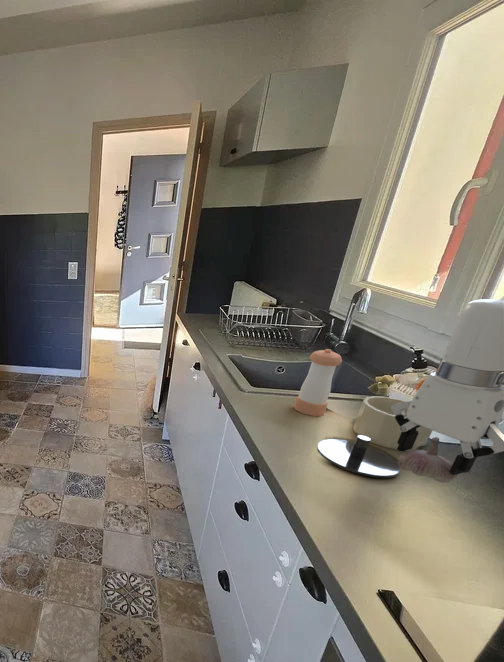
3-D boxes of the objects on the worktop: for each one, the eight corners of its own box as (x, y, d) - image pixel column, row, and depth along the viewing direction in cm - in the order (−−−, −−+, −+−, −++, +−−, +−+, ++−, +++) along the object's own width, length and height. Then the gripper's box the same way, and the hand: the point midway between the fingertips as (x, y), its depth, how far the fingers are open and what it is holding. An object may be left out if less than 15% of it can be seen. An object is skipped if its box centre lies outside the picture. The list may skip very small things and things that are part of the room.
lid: (414, 472, 86) (426, 449, 84) (367, 485, 82) (378, 461, 80) (344, 439, 99) (352, 418, 97) (301, 448, 96) (308, 427, 93)
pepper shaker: (328, 411, 113) (349, 350, 106) (318, 418, 109) (340, 355, 102) (299, 402, 119) (318, 343, 111) (289, 409, 115) (308, 348, 107)
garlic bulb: (385, 465, 76) (400, 430, 73) (415, 460, 77) (430, 425, 74) (431, 490, 69) (449, 452, 66) (463, 483, 70) (482, 446, 67)
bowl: (437, 446, 96) (452, 416, 93) (400, 455, 92) (414, 424, 89) (376, 420, 108) (387, 393, 105) (340, 427, 104) (350, 400, 101)
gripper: (563, 390, 58) (508, 484, 65) (420, 355, 74) (388, 434, 81) (532, 397, 57) (480, 494, 63) (393, 360, 72) (363, 440, 79)
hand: (429, 460), depth 72 cm, fingers closed on garlic bulb, 7 cm apart
